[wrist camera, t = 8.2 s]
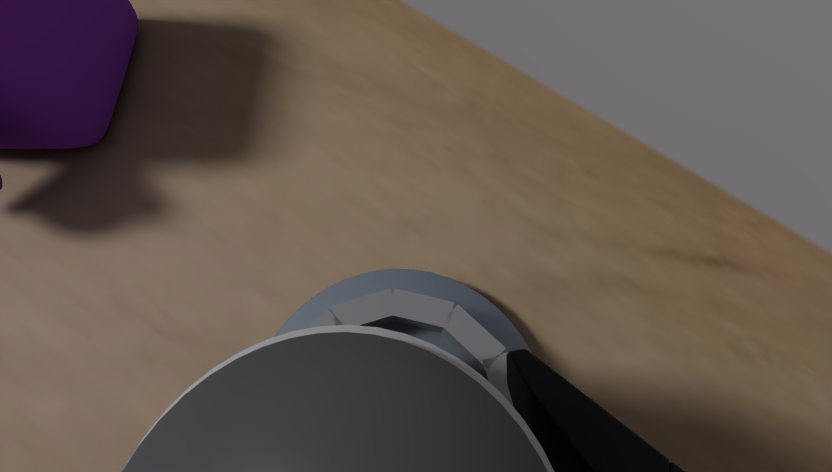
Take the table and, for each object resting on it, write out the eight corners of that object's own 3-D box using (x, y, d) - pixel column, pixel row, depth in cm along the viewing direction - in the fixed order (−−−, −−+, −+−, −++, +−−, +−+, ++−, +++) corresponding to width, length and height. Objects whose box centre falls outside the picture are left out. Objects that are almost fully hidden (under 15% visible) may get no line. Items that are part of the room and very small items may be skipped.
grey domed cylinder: (491, 395, 16) (675, 492, 4) (419, 532, 15) (417, 1182, 3) (375, 322, 17) (275, 243, 5) (298, 445, 15) (-59, 701, 4)
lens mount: (593, 533, 15) (634, 569, 12) (280, 647, 14) (246, 715, 11) (486, 243, 19) (497, 220, 16) (231, 317, 18) (196, 306, 15)
